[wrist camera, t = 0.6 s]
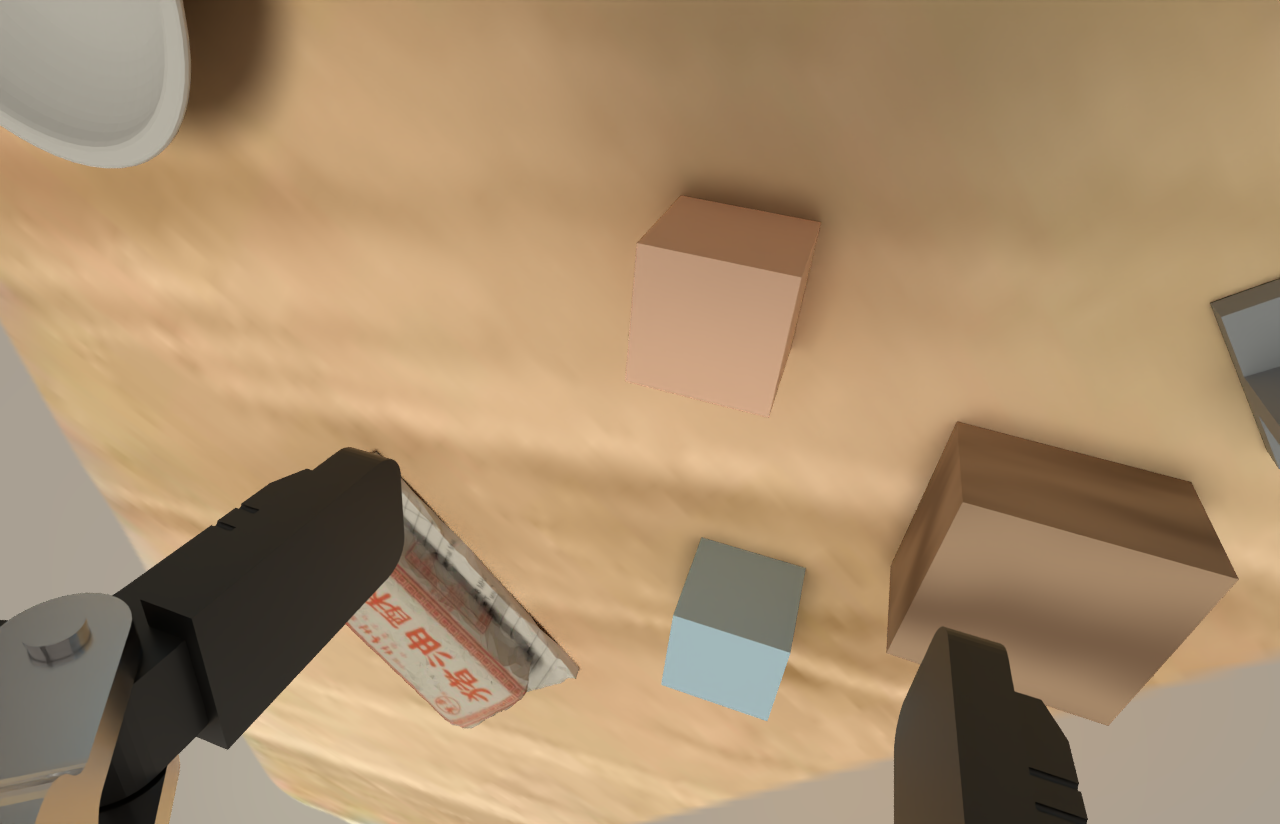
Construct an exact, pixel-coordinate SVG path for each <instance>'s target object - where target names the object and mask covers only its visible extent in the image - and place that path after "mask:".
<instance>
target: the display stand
mask: <svg viewBox="0 0 1280 824" xmlns="http://www.w3.org/2000/svg"><path fill="white" fill-rule="evenodd" d="M1210 304H1211V306H1212V309H1213V312H1214V314H1215V317H1216V319H1217V322H1218V325H1219V327H1220V330H1221V332H1222V335H1223V338H1224V340H1225V343H1226V345H1227V348H1228V351H1229V353H1230V356H1231V358H1232V361H1233V364H1234V366H1235V369H1236V371H1237V374H1238V377H1239V379H1240V382H1241V384H1242V387H1243V390H1244V392H1245V395H1246V397H1247V400H1248V403H1249V405H1250V408H1251V410H1252V413H1253V416H1254V418H1255V421H1256V423H1257V426H1258V428H1259V431H1260V434H1261V436H1262V439H1263V441H1264V444H1265V447H1266V449H1267V452H1268V453H1269V455H1270V456H1271V458H1272V459H1273V461H1274V462H1275V464H1276V465H1277V467H1278V468H1279V469H1280V279H1277V280H1274V281H1272V282H1269V283H1266V284H1263V285H1260V286H1258V287H1255V288H1252V289H1249V290H1246V291H1243V292H1241V293H1238V294H1235V295H1232V296H1229V297H1227V298H1224V299H1221V300H1218V301H1215V302H1213V303H1210Z"/></svg>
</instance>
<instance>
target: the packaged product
mask: <svg viewBox="0 0 1280 824" xmlns="http://www.w3.org/2000/svg"><path fill="white" fill-rule="evenodd" d="M372 454H376V455H379V454H378V453H377V452H375V453H372ZM379 456H380V455H379ZM401 488H402V504H403V520H404V547H403V551H402V554H401V557H400V560H399V562H398V564H397V566H396V568H395V569H394V571H393V572H392V574H391V575H390V576H389V578H388V579H387V580H386V581H385V582H384V583H383V584H382V585H381V586H380V587H379V588H378V590H377V591H376V592H375V593H374V594H373V595H372V596H371V597H370V598H369V599H368V600H367V601H366V602H365V603H364V604H363V606H362V607H361V608H360V609H359V610H358V611H357V612H356V613H355V614H354V615H353V616H352V617H351V618H350V619H349V621H348V622H347V623H346V625H347V626H348V627H349V628H350V629H351V630H352V631H353V632H354V633H355V634H356V635H357V636H358V637H360V638H361V639H362V640H363V642H364V643H365V644H366V645H368V646H369V647H370V648H371V649H372V650H373V651H374V652H375V653H376V654H377V655H379V656H380V657H381V658H382V659H383V660H384V661H385V662H386V663H387V664H388V665H389V666H390V667H391V668H392V669H393V670H394V671H395V672H396V673H397V674H398V675H400V676H401V677H402V678H403V679H404V681H405V682H406V683H408V684H409V685H410V686H411V687H412V688H413V689H415V690H416V692H417V693H418V694H419V695H420V696H421V697H422V698H423V699H425V700H426V701H427V702H428V703H429V704H430V705H431V706H432V707H433V708H434V709H435V710H436V711H437V712H438V713H439V714H440V715H441V716H442V717H443V718H444V719H445V720H447V721H448V722H450V723H451V724H452V725H456V726H460V727H462V728H473V727H475V726H477V725H479V724H480V723H481V722H483V721H484V720H485V719H487V718H489V717H492V716H494V715H495V714H497V713H498V712H502V710H507V709H509V708H510V707H512V706H513V705H514V704H515V703H516V702H517V701H519V700H521V699H522V698H523V696H524V695H525V693H526V692H528V691H532V690H536V689H541V688H544V687H547V686H551V685H554V684H559V683H562V682H563V681H565V680H566V679H567V678H575V679H576V677H577V674H578V670H579V667H578V666H577V665H576V664H575V662H574V661H573V660H572V659H571V658H570V657H569V656H568V655H567V653H566V652H565V651H564V650H563V649H562V648H561V647H560V646H559V645H558V644H557V643H556V642H554V641H553V640H552V639H551V638H550V637H549V636H548V635H546V634H545V633H544V632H543V631H542V630H541V629H540V628H538V626H537V625H536V623H535V622H534V620H533V619H532V617H531V616H530V615H529V614H528V613H527V612H526V611H525V610H524V609H523V607H522V606H521V605H520V604H519V603H518V602H517V601H516V600H515V599H514V597H513V596H512V595H511V594H510V593H509V592H508V591H507V590H506V589H505V587H504V586H503V585H502V584H501V583H500V582H499V581H498V580H497V579H496V578H495V576H494V575H493V574H492V573H491V572H490V571H489V570H488V569H487V568H486V567H485V566H484V564H483V563H482V562H481V561H480V560H479V559H478V557H477V556H476V555H475V554H474V553H473V551H472V550H471V549H470V548H469V547H468V546H467V545H466V544H465V543H463V541H462V540H461V539H460V538H459V537H458V536H457V535H456V534H455V533H454V532H453V531H452V530H451V529H450V528H449V527H448V526H447V525H445V524H444V523H443V522H442V521H441V520H440V519H439V517H438V516H437V515H436V514H435V513H434V512H433V511H432V510H431V509H430V508H429V507H428V506H427V505H426V504H425V503H424V502H423V501H422V500H421V499H420V498H419V497H418V496H417V495H416V494H415V493H414V492H413V491H412V490H411V489H410V488H409V486H408V485H407V484H406V483H405V482H404V481H403V479H402V478H401Z"/></svg>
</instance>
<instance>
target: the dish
mask: <svg viewBox="0 0 1280 824" xmlns="http://www.w3.org/2000/svg"><path fill="white" fill-rule="evenodd" d="M190 84H191V56H190V44H189V34H188V28H187V22H186V16H185V10H184V6H183V0H0V126H2V127H4V128H5V129H7V130H8V131H10V132H12V133H13V134H15V135H16V136H18V137H19V138H21V139H23V140H25V141H27V142H29V143H30V144H32V145H34V146H36V147H38V148H40V149H42V150H44V151H46V152H49V153H51V154H53V155H55V156H58V157H61V158H63V159H66V160H69V161H72V162H75V163H79V164H83V165H87V166H92V167H100V168H126V167H132V166H137V165H139V164H142V163H144V162H147V161H149V160H151V159H152V158H154V157H155V156H157V155H158V154H160V153H161V152H162V151H163V150H164V149H165V148H166V147H167V146H168V145H169V144H170V143H171V142H172V140H173V138H174V137H175V135H176V134H177V132H178V131H179V128H180V126H181V124H182V121H183V119H184V116H185V112H186V108H187V105H188V100H189V92H190Z"/></svg>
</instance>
